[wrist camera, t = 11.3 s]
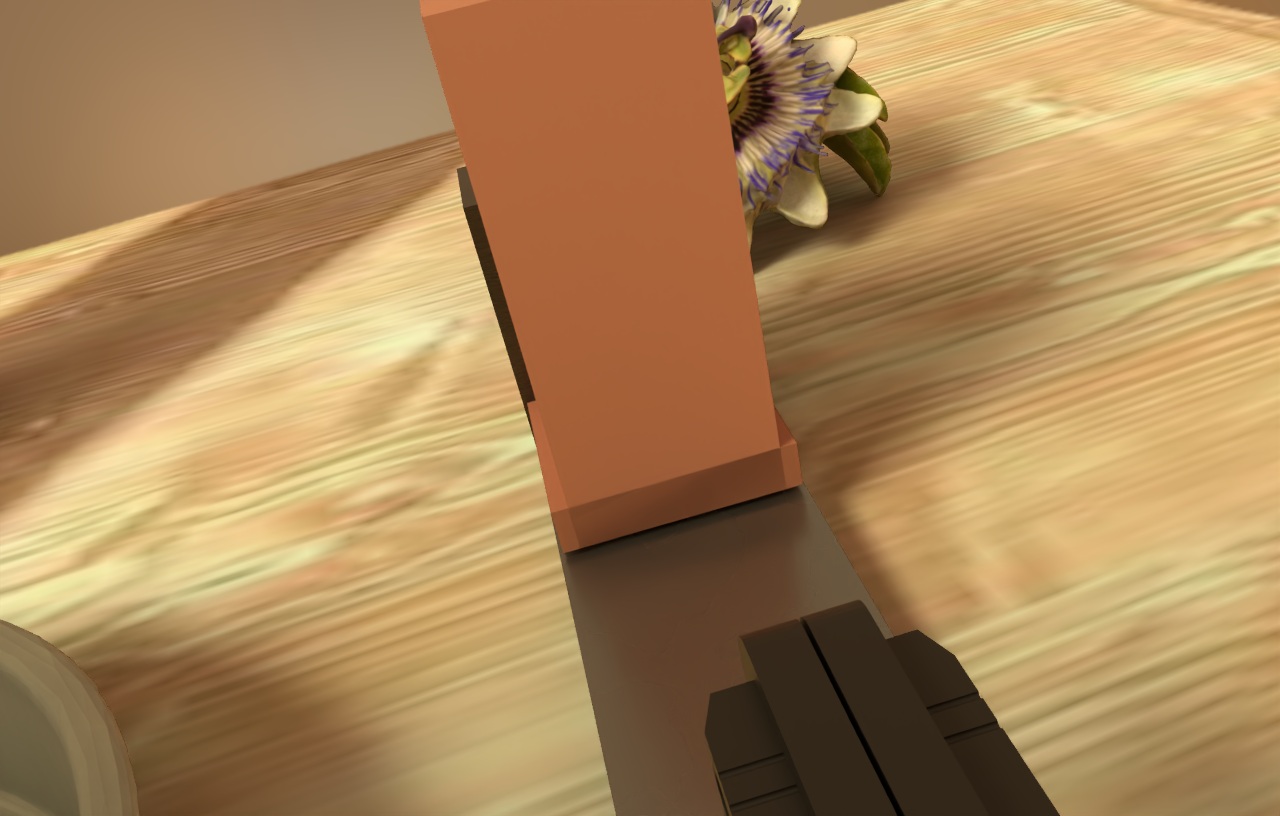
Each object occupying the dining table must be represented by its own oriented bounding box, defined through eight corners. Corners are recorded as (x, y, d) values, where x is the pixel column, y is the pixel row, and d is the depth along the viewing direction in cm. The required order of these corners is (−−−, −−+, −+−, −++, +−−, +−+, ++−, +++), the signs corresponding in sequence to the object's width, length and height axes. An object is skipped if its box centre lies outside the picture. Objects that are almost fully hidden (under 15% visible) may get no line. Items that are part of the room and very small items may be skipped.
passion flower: (755, 397, 40) (522, 230, 33) (679, 246, 48) (478, 85, 41) (993, 191, 37) (791, -48, 30) (869, 64, 45) (685, -149, 37)
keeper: (563, 553, 24) (398, 23, 18) (538, 439, 29) (397, -23, 22) (802, 484, 25) (724, -60, 18) (742, 382, 29) (662, -89, 23)
